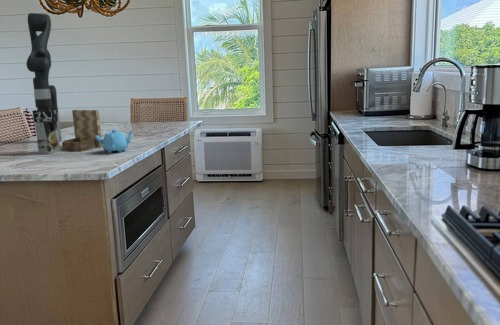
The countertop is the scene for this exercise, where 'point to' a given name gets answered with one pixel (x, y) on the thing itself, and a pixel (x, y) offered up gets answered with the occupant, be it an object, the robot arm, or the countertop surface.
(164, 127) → the countertop surface
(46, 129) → the coffee box
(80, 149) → the brown open box
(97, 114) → the wall board
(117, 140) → the teapot
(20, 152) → the countertop surface
